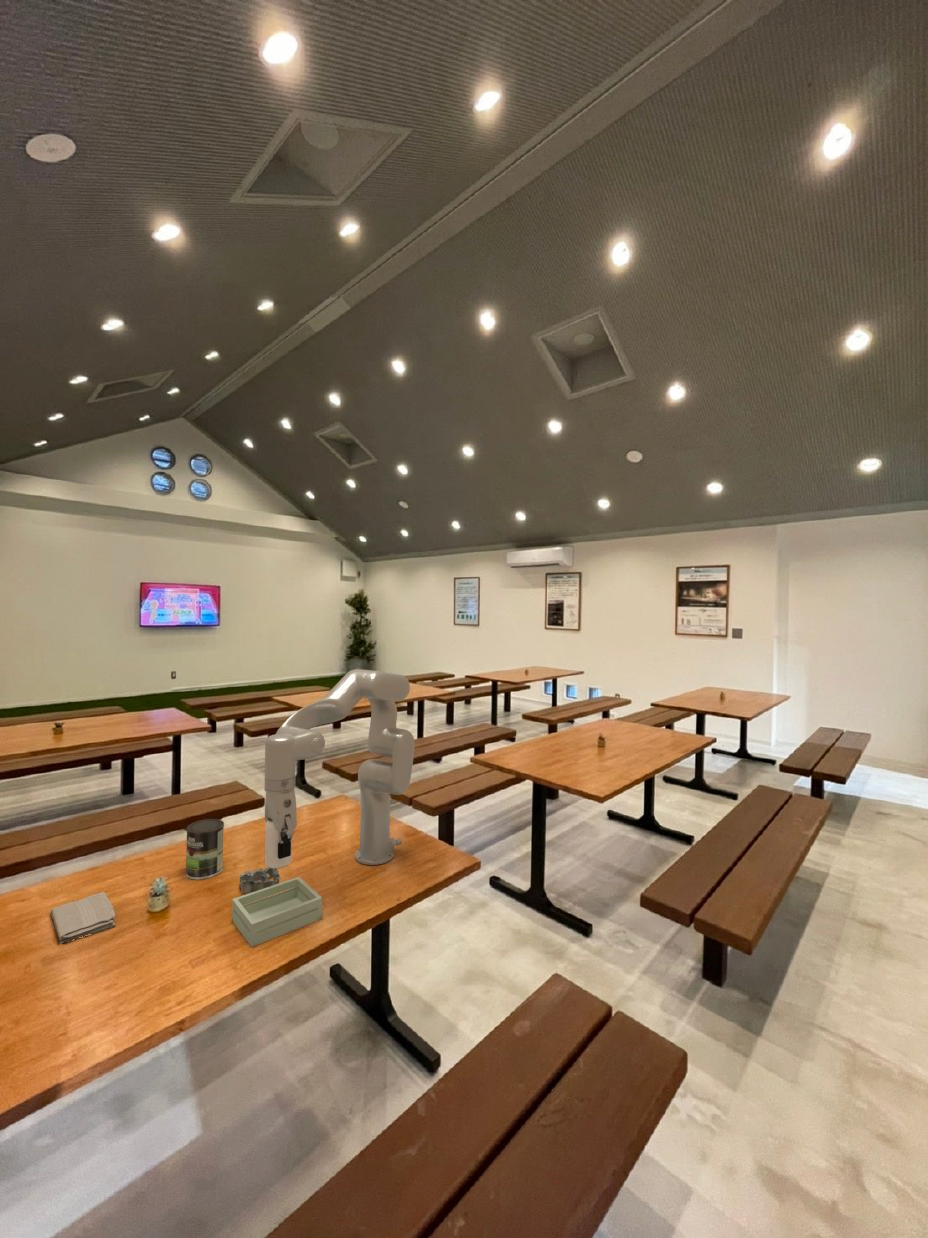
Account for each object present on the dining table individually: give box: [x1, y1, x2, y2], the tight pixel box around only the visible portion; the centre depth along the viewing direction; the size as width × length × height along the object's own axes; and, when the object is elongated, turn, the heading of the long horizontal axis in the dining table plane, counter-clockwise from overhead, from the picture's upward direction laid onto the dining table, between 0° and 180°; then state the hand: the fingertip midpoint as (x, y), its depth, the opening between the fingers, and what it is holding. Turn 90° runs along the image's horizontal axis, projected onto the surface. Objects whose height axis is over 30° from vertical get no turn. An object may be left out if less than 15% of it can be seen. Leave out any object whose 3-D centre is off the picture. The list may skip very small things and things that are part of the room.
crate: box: [231, 876, 323, 948], centre depth 136 cm, size 18×14×6 cm
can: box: [264, 819, 293, 869], centre depth 136 cm, size 6×6×12 cm
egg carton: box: [238, 867, 281, 895], centre depth 152 cm, size 11×8×4 cm
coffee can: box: [185, 818, 225, 881], centre depth 159 cm, size 10×10×14 cm
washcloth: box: [50, 891, 116, 945], centre depth 134 cm, size 12×18×3 cm, turn 45°
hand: (278, 851), depth 136 cm, fingers closed on can, 6 cm apart
